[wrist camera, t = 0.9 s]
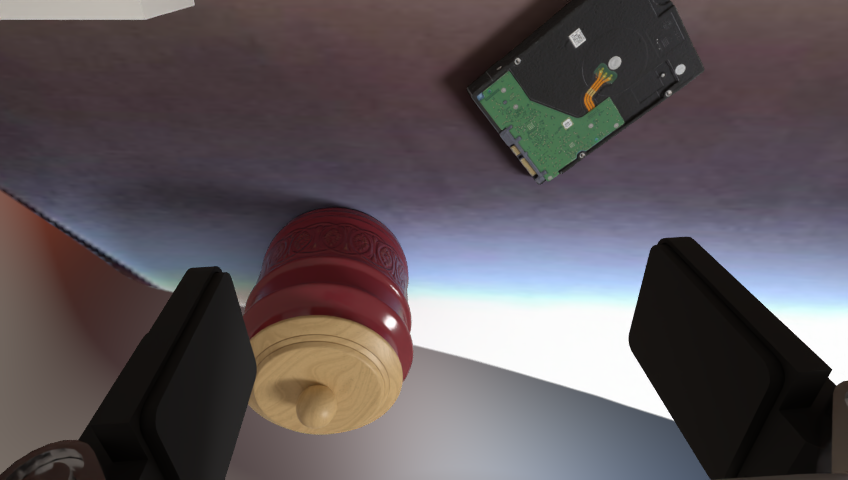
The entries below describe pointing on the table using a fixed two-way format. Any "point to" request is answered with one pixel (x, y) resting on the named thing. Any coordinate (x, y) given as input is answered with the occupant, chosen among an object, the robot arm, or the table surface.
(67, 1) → the dock
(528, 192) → the table surface
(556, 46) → the disk drive
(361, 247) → the canister
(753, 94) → the table surface
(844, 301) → the table surface
